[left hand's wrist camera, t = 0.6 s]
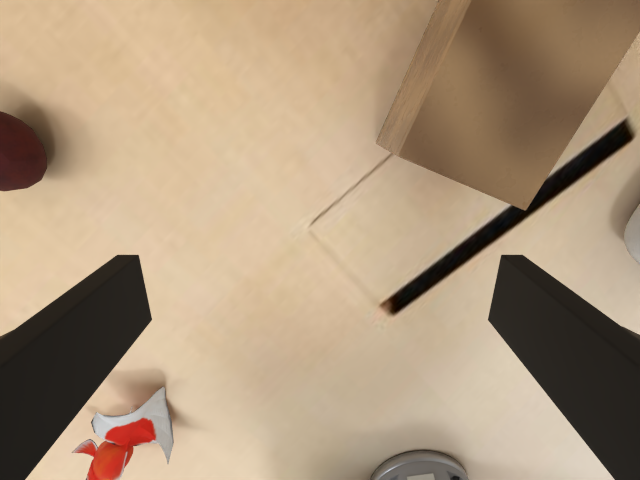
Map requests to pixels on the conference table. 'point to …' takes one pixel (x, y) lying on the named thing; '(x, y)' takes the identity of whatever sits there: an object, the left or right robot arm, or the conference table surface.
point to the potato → (19, 155)
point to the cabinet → (506, 88)
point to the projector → (633, 235)
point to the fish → (127, 437)
